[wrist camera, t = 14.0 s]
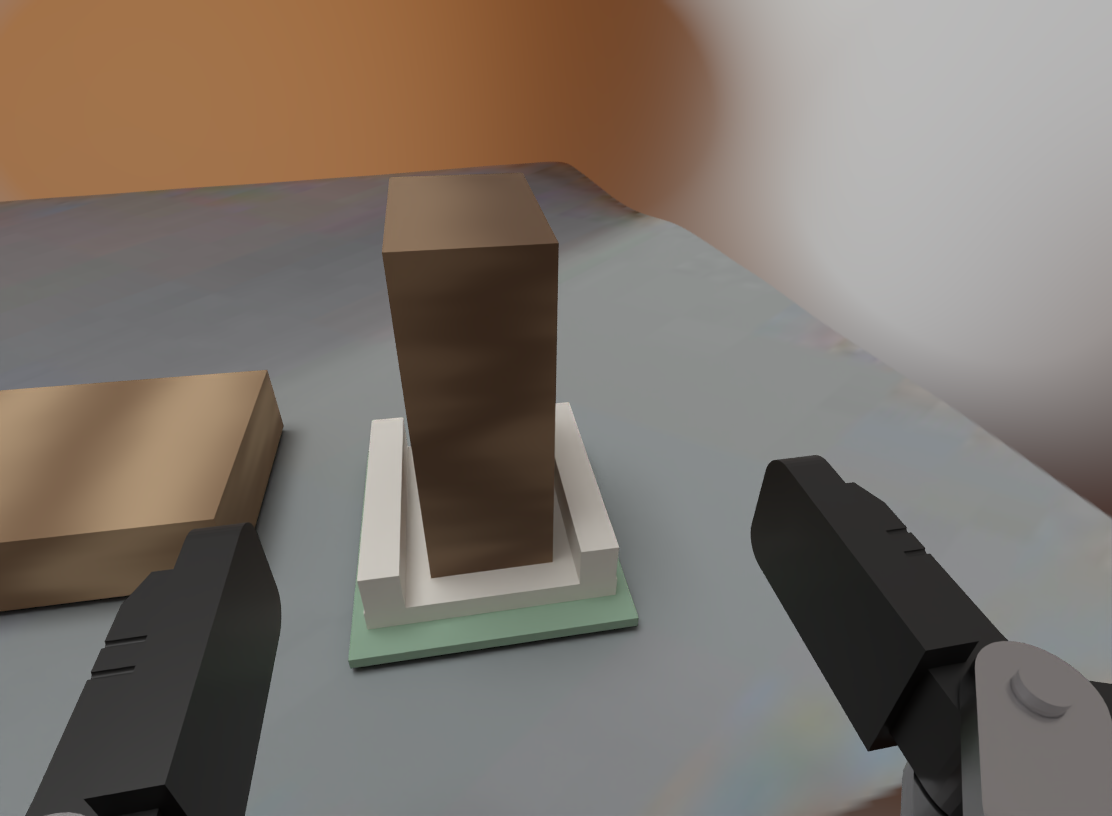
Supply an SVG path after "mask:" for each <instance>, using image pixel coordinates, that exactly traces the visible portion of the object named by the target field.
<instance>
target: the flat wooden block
mask: <svg viewBox="0 0 1112 816" xmlns="http://www.w3.org/2000/svg"><path fill="white" fill-rule="evenodd" d="M282 429H283V422H282V419H281V415H280V412H279V409H278V405H277V402H276V398H275V395H274V391H273V388H272V385H271V381H270V378H269V374H268V371H267V370H261V371H248V372H235V373H222V374H209V375H196V376H183V377H170V378H157V379H144V380H131V381H118V382H105V383H93V384H80V385H67V386H54V387H41V388H28V389H15V390H2V391H0V611H8V610H16V609H24V608H32V607H40V606H48V605H56V604H64V603H72V602H80V601H87V600H95V599H103V598H111V597H119V596H127V595H131V594H132V593H133V592H134V590H135V589H136V588H137V587H138V586H139V585H140V584H141V583H142V582H143V581H144V580H145V579H146V577H147V576H148V575H149V574H150V573H151V572H154V571H162V570H169V569H174V566H175V564H176V561H177V558H178V556H179V553H180V551H181V548H182V546H183V543H184V541H185V538H186V536H187V535H188V533H189V532H190V531H191V530H193V529H197V528H205V527H213V526H221V525H230V524H238V523H246V522H249V523H251V524H252V525H253V526H254V528H255V525H256V522H257V518H258V515H259V511H260V508H261V504H262V501H263V497H264V493H265V490H266V486H267V483H268V479H269V476H270V472H271V469H272V465H273V461H274V458H275V454H276V451H277V447H278V444H279V440H280V437H281V433H282Z"/></svg>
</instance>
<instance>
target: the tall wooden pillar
mask: <svg viewBox="0 0 1112 816" xmlns="http://www.w3.org/2000/svg"><path fill="white" fill-rule="evenodd" d="M558 247H559V243H558V241H557V239H556V237H555V235H554V233H553V231H552V229H551V227H550V226H549V224H548V222H547V220H546V218H545V216H544V214H543V212H542V210H541V208H540V206H539V204H538V202H537V200H536V198H535V196H534V194H533V192H532V191H531V189H530V187H529V185H528V183H527V181H526V179H525V177H524V175H523V173H502V174H473V175H444V176H415V177H390V178H389V188H388V198H387V208H386V218H385V228H384V238H383V248H382V255H383V262H384V269H385V275H386V282H387V289H388V295H389V302H390V309H391V315H392V322H393V329H394V335H395V342H396V349H397V355H398V362H399V369H400V375H401V382H402V389H403V395H404V402H405V409H406V415H407V422H408V429H409V435H410V442H411V449H412V455H413V462H414V469H415V475H416V482H417V489H418V495H419V502H420V508H421V515H422V522H423V528H424V535H425V542H426V548H427V555H428V562H429V568H430V575H431V578H438V577H445V576H452V575H460V574H467V573H475V572H482V571H490V570H497V569H505V568H512V567H520V566H527V565H534V564H542V563H549V562H553V518H554V463H555V409H556V355H557V301H558Z"/></svg>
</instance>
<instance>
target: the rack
mask: <svg viewBox="0 0 1112 816" xmlns="http://www.w3.org/2000/svg"><path fill="white" fill-rule="evenodd" d="M618 553H619V545H618V543H617V540H616V537H615V534H614V531H613V528H612V525H611V522H610V519H609V517H608V514H607V511H606V508H605V505H604V502H603V499H602V496H601V493H600V491H599V488H598V485H597V482H596V479H595V476H594V473H593V470H592V467H591V465H590V462H589V459H588V456H587V453H586V450H585V447H584V444H583V441H582V438H581V436H580V433H579V430H578V427H577V424H576V421H575V418H574V415H573V412H572V410H571V407H570V404H569V402H566V403H556V409H555V463H554V518H553V562H549V563H542V564H534V565H527V566H520V567H512V568H505V569H497V570H490V571H482V572H475V573H467V574H460V575H452V576H445V577H438V578H431V575H430V568H429V562H428V555H427V548H426V542H425V535H424V528H423V522H422V515H421V508H420V502H419V495H418V489H417V482H416V475H415V469H414V462H413V455H412V449H411V447H408V446H407V439H406V433H405V426H404V420H403V417H402V418H391V419H380V420H372V426H371V436H370V447H369V458H368V468H367V479H366V490H365V501H364V511H363V522H362V533H361V543H360V554H359V565H358V575H357V583H358V587H359V591H360V595H361V599H362V603H363V607H364V613H363V614H364V618H365V622H366V625H367V629H368V630H369V629H376V628H383V627H390V626H397V625H405V624H412V623H419V622H426V621H433V620H440V619H447V618H454V617H461V616H468V615H475V614H483V613H490V612H497V611H504V610H511V609H518V608H525V607H532V606H539V605H546V604H554V603H561V602H568V601H575V600H582V599H589V598H596V597H603V596H610V595H616V586H617V577H616V572H617V563H618Z"/></svg>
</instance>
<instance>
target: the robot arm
mask: <svg viewBox="0 0 1112 816" xmlns="http://www.w3.org/2000/svg"><path fill="white" fill-rule="evenodd" d="M906 528H907V527H906V526H905V525H904V524H903V523H902V522H901V520H900V519H899V518H898V517H897V516H896V515H895V514H894V513H893V511H892V510H891V509H890V508H889V507H888V506H887V505H886V504H885V502H883V501H881V500H880V499H878V498H877V497H875V496H874V495H872V494H871V493H869V492H868V491H866V490H865V489H863V488H862V487H860V486H859V485H857V484H856V483H854V482H852V483H845V482H844V481H843V480H842V478H841V477H840V476H839V475H838V474H837V473H836V471H835V470H834V469H833V468H832V467H831V465H830V464H829V463H828V462H827V461H826V460H825V459H824V458H822V457H821V456H818V455H813V456H805V457H796V458H788V459H780V460H773V461H772V462H770V463H769V464H768V466H767V469H766V472H765V475H764V479H763V483H762V487H761V491H760V495H759V498H758V502H757V506H756V510H755V514H754V518H753V521H752V526H751V543H752V548H753V552H754V555H755V558H756V560H757V562H758V564H759V566H760V568H761V570H762V571H763V573H764V575H765V576H766V578H767V580H768V582H769V583H770V585H771V587H772V588H773V590H774V592H775V593H776V595H777V597H778V599H779V600H780V602H781V604H782V605H783V607H784V609H785V611H786V612H787V614H788V616H789V617H790V619H791V621H792V622H793V624H794V626H795V628H796V629H797V631H798V633H799V634H800V636H801V638H802V640H803V641H804V643H805V645H806V646H807V648H808V650H809V651H810V653H811V655H812V657H813V658H814V660H815V662H816V663H817V665H818V667H819V669H820V670H821V672H822V674H823V675H824V677H825V679H826V681H827V682H828V684H829V686H830V687H831V689H832V691H833V692H834V694H835V696H836V698H837V699H838V701H839V703H840V704H841V706H842V708H843V710H844V711H845V713H846V715H847V716H848V718H849V720H850V721H851V723H852V725H853V727H854V728H855V730H856V732H857V733H858V735H859V737H860V739H861V740H862V742H863V744H864V745H865V747H866V749H867V750H868V751H873V750H878V749H883V748H887V747H892V746H897V745H898V747H899V748H900V750H901V751H902V753H903V755H904V756H905V758H906V759H907V761H908V762H907V763H906V765H905V768H904V770H903V777H902V799H901V816H1112V684H1108V683H1101V682H1094V681H1088V680H1087V679H1086V678H1085V677H1084V676H1083V675H1082V674H1081V673H1080V672H1079V671H1077V670H1076V669H1075V668H1073V667H1072V666H1071V665H1069V664H1068V663H1067V662H1065V661H1063V660H1062V659H1060V658H1059V657H1057V656H1055V655H1053V654H1051V653H1049V652H1047V651H1045V650H1043V649H1040V648H1038V647H1035V646H1032V645H1028V644H1025V643H1020V642H1014V641H1008V640H1007V639H1006V638H1005V637H1004V636H1003V635H1002V634H1001V633H1000V632H999V631H998V630H997V628H996V627H995V626H994V625H993V624H992V623H991V622H990V621H989V619H988V618H987V617H986V616H985V615H984V614H983V613H982V612H981V610H980V609H979V608H978V607H977V606H976V605H975V604H974V603H973V601H972V600H971V599H970V598H969V597H968V596H967V595H966V594H965V592H964V591H963V590H962V589H961V588H960V587H959V586H958V585H957V583H956V582H955V581H954V580H953V579H952V578H951V577H950V576H949V574H948V573H947V572H946V571H945V570H944V569H943V568H942V567H941V565H940V564H939V563H938V562H937V561H936V560H935V559H934V558H933V556H932V555H931V554H926V552H925V547H924V546H923V545H922V544H921V543H920V542H919V541H918V540H917V538H916V537H915V536H914V535H913V534H912V533H908V532H907V529H906ZM280 629H281V603H280V596H279V592H278V589H277V586H276V583H275V580H274V578H273V575H272V572H271V570H270V567H269V564H268V561H267V559H266V556H265V553H264V551H263V548H262V545H261V542H260V540H259V537H258V534H257V532H256V529H255V528H254V526H253V525H252V524H251V523H249V522H246V523H238V524H230V525H221V526H213V527H205V528H197V529H193V530H191V531H190V532H189V533H188V535H187V536H186V538H185V541H184V543H183V546H182V548H181V551H180V553H179V556H178V558H177V561H176V564H175V566H174V569H169V570H162V571H154V572H151V573H150V574H149V575H148V576H147V577H146V579H145V580H144V581H143V582H142V583H141V584H140V585H139V586H138V587H137V588H136V589H135V590H134V592H133V593H132V594H131V595H130V596H129V597H128V598H127V599H126V600H125V601H124V602H123V604H122V605H121V607H120V609H119V611H118V613H117V615H116V618H115V620H114V622H113V624H112V627H111V629H110V631H109V633H108V635H107V638H106V640H105V644H106V645H105V648H103V649H101V651H100V653H99V655H98V658H97V660H96V662H95V664H94V666H93V669H92V671H91V674H92V677H91V680H87V682H86V684H85V686H84V689H83V691H82V693H81V695H80V697H79V700H78V702H77V704H76V706H75V709H74V711H73V713H72V715H71V717H70V720H69V722H68V724H67V726H66V728H65V731H64V733H63V735H62V737H61V740H60V742H59V744H58V746H57V748H56V751H55V753H54V755H53V757H52V760H51V762H50V764H49V766H48V768H47V771H46V773H45V775H44V777H43V779H42V782H41V784H40V786H39V788H38V791H37V793H36V795H35V797H34V799H33V802H32V804H31V805H30V807H29V809H28V811H27V813H26V815H25V816H245V811H246V806H247V801H248V796H249V791H250V786H251V780H252V775H253V770H254V765H255V760H256V755H257V749H258V744H259V739H260V734H261V729H262V724H263V718H264V713H265V708H266V703H267V698H268V693H269V687H270V682H271V677H272V672H273V667H274V662H275V656H276V651H277V646H278V641H279V636H280Z"/></svg>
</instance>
